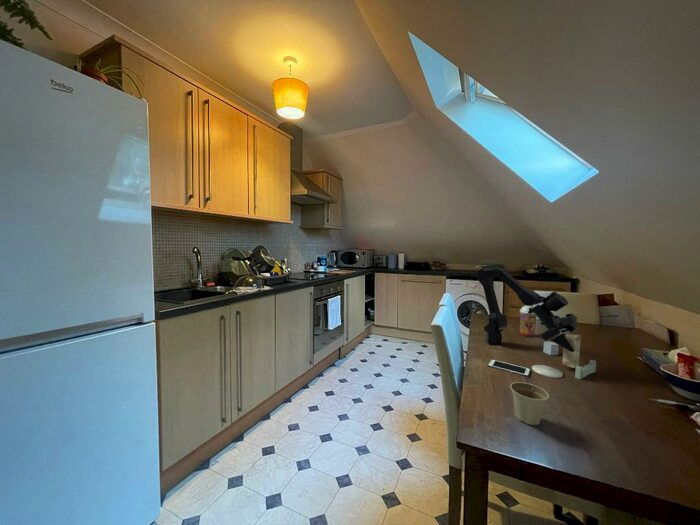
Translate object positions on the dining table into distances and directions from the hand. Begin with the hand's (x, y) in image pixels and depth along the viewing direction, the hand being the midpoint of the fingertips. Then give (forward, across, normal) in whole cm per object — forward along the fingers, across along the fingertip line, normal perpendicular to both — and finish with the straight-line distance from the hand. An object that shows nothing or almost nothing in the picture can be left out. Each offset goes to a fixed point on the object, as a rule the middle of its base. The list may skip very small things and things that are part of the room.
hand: (575, 350), depth 108 cm
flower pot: (+12, -49, 0) cm, 51 cm away
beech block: (+4, 0, +6) cm, 7 cm away
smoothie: (-17, +29, +30) cm, 45 cm away
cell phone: (-3, -22, +16) cm, 27 cm away
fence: (+8, 0, +3) cm, 9 cm away
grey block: (-4, +12, +16) cm, 20 cm away
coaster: (+3, -11, +9) cm, 15 cm away
